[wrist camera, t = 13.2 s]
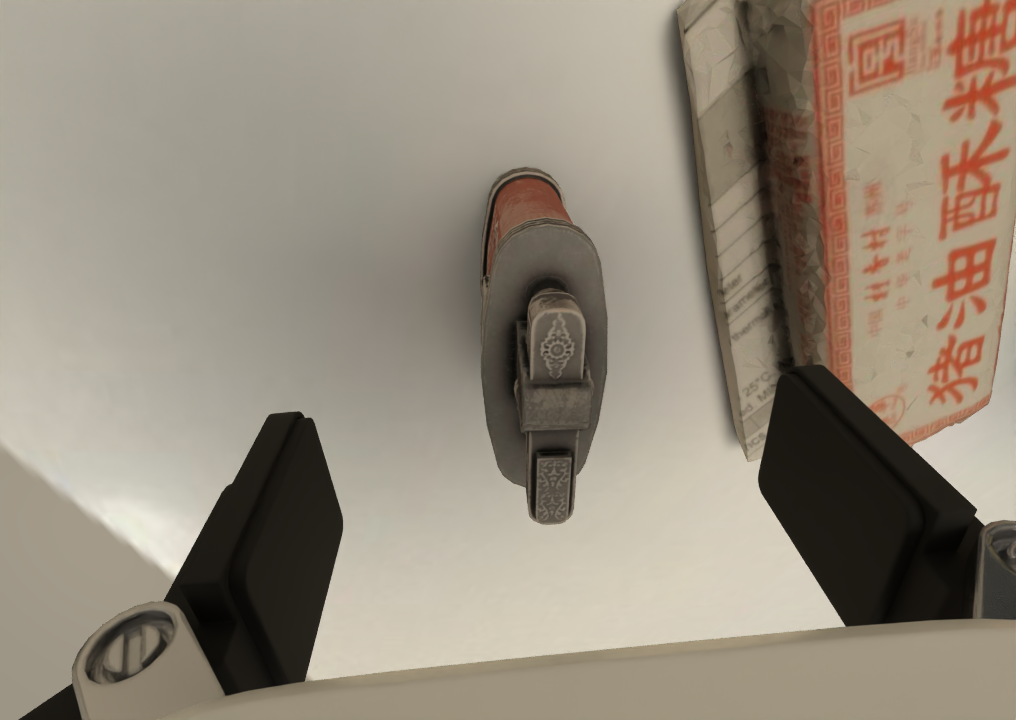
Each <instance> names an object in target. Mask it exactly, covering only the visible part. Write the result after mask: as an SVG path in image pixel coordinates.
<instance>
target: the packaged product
mask: <svg viewBox="0 0 1016 720" xmlns="http://www.w3.org/2000/svg"><path fill="white" fill-rule="evenodd" d="M677 16H678V23H679V30H680V36H681V43H682V50H683V56H684V63H685V70H686V76H687V83H688V90H689V96H690V103H691V113H692V124H693V134H694V145H695V156H696V166H697V177H698V188H699V198H700V208H701V217H702V227H703V236H704V245H705V255H706V264H707V271H708V277H709V283H710V288H711V294H712V300H713V306H714V311H715V317H716V323H717V329H718V334H719V340H720V346H721V351H722V357H723V363H724V368H725V374H726V380H727V386H728V391H729V397H730V403H731V408H732V414H733V420H734V424H735V428H736V432H737V436H738V439H739V442H740V444H741V447H742V449H743V452H744V454H745V456H746V459H747V461H748V462H749V461H754V460H757V459H761V458H762V455H763V450H764V445H765V440H766V435H767V430H768V426H769V421H770V416H771V411H772V406H773V401H774V396H775V391H776V386H777V382H778V379H779V377H780V376H781V375H785V374H786V372H787V370H788V369H789V368H790V367H794V366H805V365H816V364H820V365H823V366H825V367H826V368H827V369H828V370H829V371H830V372H831V373H832V374H834V375H835V376H836V377H837V378H838V379H839V380H840V381H841V382H842V383H843V384H844V385H845V386H846V387H847V388H848V389H850V390H851V391H852V392H853V393H854V394H855V395H856V396H857V397H858V398H859V399H860V400H861V401H862V402H863V403H864V404H865V405H867V406H868V407H869V408H870V409H871V410H872V411H873V412H874V413H875V414H876V415H877V416H878V417H879V418H880V419H881V420H883V421H884V422H885V423H886V424H887V425H888V426H889V427H890V428H891V429H892V430H893V431H894V432H895V433H896V434H897V435H899V436H900V437H901V438H902V439H903V440H904V441H905V442H906V443H907V444H908V445H909V446H910V447H912V446H913V445H914V444H915V443H917V442H920V441H922V440H925V439H927V438H928V437H930V436H932V435H934V434H936V433H938V432H939V431H941V430H942V429H944V428H945V427H947V426H953V425H954V423H961V422H963V421H964V420H966V419H967V418H968V417H970V416H971V415H973V414H974V413H976V412H977V411H979V410H980V409H982V408H983V407H984V406H986V405H987V404H988V403H989V401H990V397H991V393H992V385H993V380H994V375H995V370H996V365H997V359H998V351H999V343H1000V336H1001V327H1002V321H1003V316H1004V310H1005V301H1006V291H1007V282H1008V273H1009V265H1010V258H1011V252H1012V243H1013V234H1014V226H1015V219H1016V0H687V1H686V2H685V3H684V4H683V5H682V6H680V7H679V8H678V9H677Z"/></svg>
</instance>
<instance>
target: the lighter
mask: <svg viewBox="0 0 1016 720" xmlns="http://www.w3.org/2000/svg"><path fill="white" fill-rule="evenodd" d="M480 286H481V295H482V313H481V345H482V354H481V378H482V387H483V396H484V404H485V413H486V422H487V427H488V431H489V435H490V438H491V442H492V446H493V450H494V454H495V457H496V461H497V465H498V467H499V469H500V471H501V473H502V475H503V476H504V477H506V478H507V479H508V480H510V481H511V482H512V483H514V484H517V485H520V486H523V487H526V494H527V503H528V511H529V516H530V518H531V519H532V520H533V521H535V522H538V523H540V524H546V525H551V524H561V523H564V522H565V521H566V520H567V519H569V518H570V517H571V515H572V513H573V509H574V498H575V484H576V475H577V474H579V473H580V471H581V469H582V468H583V466H584V464H585V462H586V459H587V456H588V453H589V450H590V446H591V443H592V440H593V437H594V434H595V431H596V427H597V424H598V421H599V415H600V409H601V404H602V398H603V392H604V386H605V380H606V375H607V310H606V302H605V294H604V285H603V277H602V269H601V262H600V259H599V256H598V253H597V251H596V248H595V246H594V244H593V243H592V241H591V239H590V238H589V237H588V236H587V235H586V234H585V233H584V232H583V231H582V229H581V228H580V227H578V226H576V225H574V224H573V223H572V221H571V219H570V217H569V216H568V214H567V212H566V207H565V200H564V197H563V194H562V191H561V189H560V187H559V185H558V184H557V182H556V181H555V180H554V179H553V178H552V177H551V176H550V175H549V174H547V173H545V172H543V171H541V170H539V169H535V168H528V167H524V168H518V169H512V170H511V171H509V172H507V173H505V174H503V175H501V176H500V177H499V179H498V180H497V181H496V182H495V183H494V184H493V186H492V189H491V191H490V194H489V199H488V205H487V211H486V217H485V223H484V229H483V235H482V252H481V275H480Z"/></svg>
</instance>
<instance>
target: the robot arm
mask: <svg viewBox="0 0 1016 720" xmlns="http://www.w3.org/2000/svg"><path fill="white" fill-rule="evenodd" d="M758 483H759V488H760V491H761V493H762V495H763V496H764V498H765V500H766V501H767V503H768V504H769V506H770V508H771V509H772V511H773V512H774V514H775V515H776V517H777V519H778V520H779V522H780V523H781V525H782V526H783V528H784V530H785V531H786V533H787V534H788V536H789V537H790V539H791V541H792V542H793V544H794V545H795V547H796V549H797V550H798V552H799V553H800V555H801V556H802V558H803V560H804V561H805V563H806V564H807V566H808V567H809V569H810V571H811V572H812V574H813V575H814V577H815V579H816V580H817V582H818V583H819V585H820V586H821V588H822V590H823V591H824V593H825V594H826V596H827V597H828V599H829V601H830V602H831V604H832V605H833V607H834V608H835V610H836V612H837V613H838V615H839V616H840V618H841V620H842V621H843V623H844V624H845V626H846V627H838V628H827V629H817V630H806V631H795V632H784V633H773V634H763V635H752V636H741V637H730V638H719V639H709V640H698V641H688V642H677V643H667V644H657V645H647V646H636V647H626V648H616V649H606V650H596V651H585V652H575V653H565V654H555V655H545V656H535V657H525V658H515V659H506V660H496V661H487V662H477V663H467V664H458V665H448V666H438V667H429V668H419V669H409V670H400V671H390V672H382V673H373V674H365V675H357V676H348V677H340V678H332V679H324V680H315V681H307V682H305V678H306V674H307V670H308V666H309V662H310V658H311V655H312V651H313V647H314V643H315V639H316V635H317V631H318V627H319V623H320V619H321V615H322V611H323V607H324V604H325V600H326V596H327V592H328V588H329V584H330V580H331V576H332V572H333V568H334V564H335V560H336V556H337V552H338V549H339V545H340V541H341V537H342V532H343V517H342V513H341V510H340V506H339V503H338V500H337V496H336V493H335V490H334V486H333V483H332V480H331V476H330V473H329V470H328V466H327V463H326V460H325V456H324V453H323V450H322V446H321V443H320V440H319V436H318V433H317V430H316V426H315V423H314V421H313V419H312V418H305V417H304V415H303V414H302V413H301V412H299V411H297V412H286V413H275V414H270V415H269V416H268V417H267V419H266V421H265V423H264V425H263V426H262V428H261V430H260V432H259V434H258V436H257V438H256V440H255V442H254V444H253V445H252V447H251V449H250V451H249V453H248V455H247V457H246V459H245V461H244V463H243V464H242V466H241V468H240V470H239V472H238V474H237V476H236V478H235V480H234V482H233V483H232V484H230V485H228V486H227V487H226V488H225V489H224V491H223V492H222V493H221V495H220V497H219V499H218V501H217V503H216V505H215V506H214V508H213V510H212V512H211V514H210V516H209V517H208V519H207V521H206V523H205V525H204V527H203V529H202V530H201V532H200V534H199V536H198V538H197V540H196V542H195V543H194V545H193V547H192V549H191V551H190V553H189V555H188V556H187V558H186V560H185V562H184V564H183V566H182V568H181V569H180V571H179V573H178V575H177V577H176V579H175V581H174V582H173V584H172V586H171V588H170V590H169V592H168V594H167V595H166V597H165V599H164V601H158V602H148V603H144V604H141V605H137V606H134V607H132V608H130V609H128V610H126V611H124V612H121V613H119V614H118V615H116V616H115V617H113V618H112V619H110V620H109V621H108V622H106V623H105V624H103V625H102V626H101V627H100V628H99V629H98V630H97V631H96V632H95V633H94V634H92V635H91V636H90V637H89V638H88V640H87V641H86V643H85V644H84V645H83V647H82V648H81V649H80V651H79V652H78V654H77V656H76V659H75V661H74V664H73V667H72V684H71V685H69V686H68V687H66V688H65V689H63V690H62V691H61V692H59V693H57V694H56V695H54V696H53V697H52V698H50V699H48V700H47V701H46V702H44V703H42V704H41V705H40V706H38V707H37V708H35V709H34V710H32V711H31V712H29V713H28V714H26V715H25V716H23V717H22V718H20V719H19V720H1016V521H1008V520H1002V521H996V522H991V523H989V524H988V525H986V526H984V525H983V524H982V523H981V522H980V521H979V520H978V519H977V518H976V517H975V516H974V515H975V513H976V511H977V509H976V508H975V507H974V506H973V505H972V504H971V503H970V502H969V501H968V500H967V499H966V498H965V497H963V496H962V495H961V494H960V493H959V492H958V491H957V490H956V489H955V488H954V487H953V486H952V485H951V484H950V483H949V482H947V481H946V480H945V479H944V478H943V477H942V476H941V475H940V474H939V473H938V472H937V471H936V470H935V469H934V468H933V467H932V466H930V465H929V464H928V463H927V462H926V461H925V460H924V459H923V458H922V457H921V456H920V455H919V454H918V453H917V452H916V451H914V450H913V449H912V448H911V447H910V446H909V445H908V444H907V443H906V442H905V441H904V440H903V439H902V438H901V437H900V436H899V435H897V434H896V433H895V432H894V431H893V430H892V429H891V428H890V427H889V426H888V425H887V424H886V423H885V422H884V421H883V420H881V419H880V418H879V417H878V416H877V415H876V414H875V413H874V412H873V411H872V410H871V409H870V408H869V407H868V406H867V405H865V404H864V403H863V402H862V401H861V400H860V399H859V398H858V397H857V396H856V395H855V394H854V393H853V392H852V391H851V390H850V389H848V388H847V387H846V386H845V385H844V384H843V383H842V382H841V381H840V380H839V379H838V378H837V377H836V376H835V375H834V374H832V373H831V372H830V371H829V370H828V369H827V368H826V367H825V366H823V365H820V364H816V365H805V366H794V367H790V368H789V369H788V370H787V372H786V374H785V375H781V376H780V377H779V379H778V382H777V386H776V391H775V396H774V401H773V406H772V411H771V416H770V421H769V426H768V430H767V435H766V440H765V445H764V450H763V455H762V460H761V465H760V470H759V475H758Z"/></svg>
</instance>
